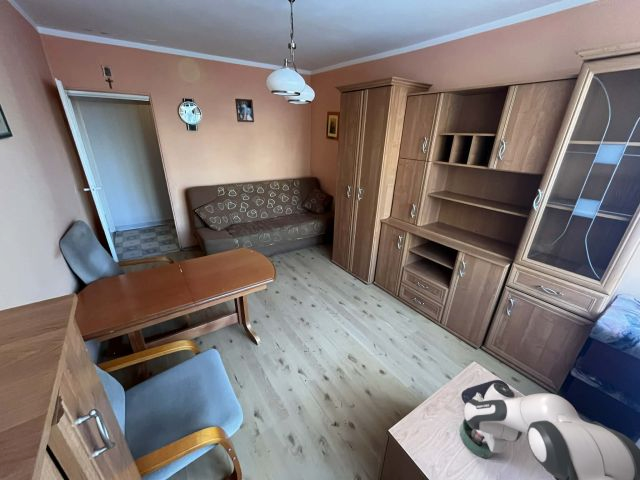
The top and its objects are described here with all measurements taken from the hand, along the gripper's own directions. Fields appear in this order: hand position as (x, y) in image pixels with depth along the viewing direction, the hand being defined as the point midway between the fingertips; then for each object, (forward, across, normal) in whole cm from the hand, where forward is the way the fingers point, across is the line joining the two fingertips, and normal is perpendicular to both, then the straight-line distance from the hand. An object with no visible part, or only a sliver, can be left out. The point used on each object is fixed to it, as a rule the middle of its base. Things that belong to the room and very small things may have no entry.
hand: (480, 433), depth 115 cm
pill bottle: (+4, 0, 0) cm, 4 cm away
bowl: (+5, 0, 0) cm, 5 cm away
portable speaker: (+6, -19, +12) cm, 23 cm away
